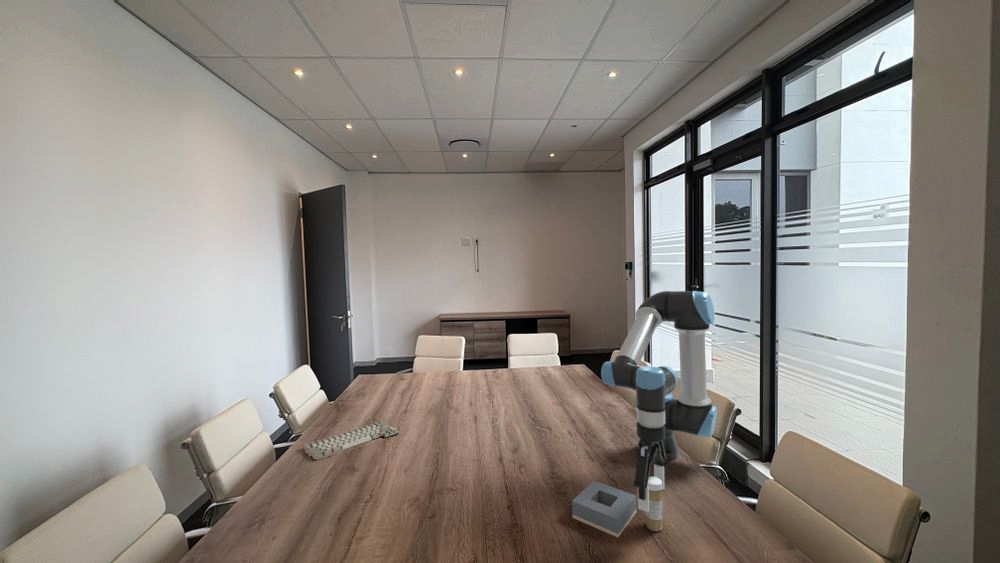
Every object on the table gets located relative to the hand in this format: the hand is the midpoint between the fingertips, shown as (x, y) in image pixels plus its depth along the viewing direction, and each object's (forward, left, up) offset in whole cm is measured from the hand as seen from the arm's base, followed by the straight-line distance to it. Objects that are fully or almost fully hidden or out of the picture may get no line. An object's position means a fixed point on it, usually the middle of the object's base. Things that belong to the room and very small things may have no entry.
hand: (651, 498), depth 107 cm
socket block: (+3, -13, -8) cm, 16 cm away
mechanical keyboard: (+22, -123, -9) cm, 125 cm away
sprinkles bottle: (-1, 0, -9) cm, 9 cm away
